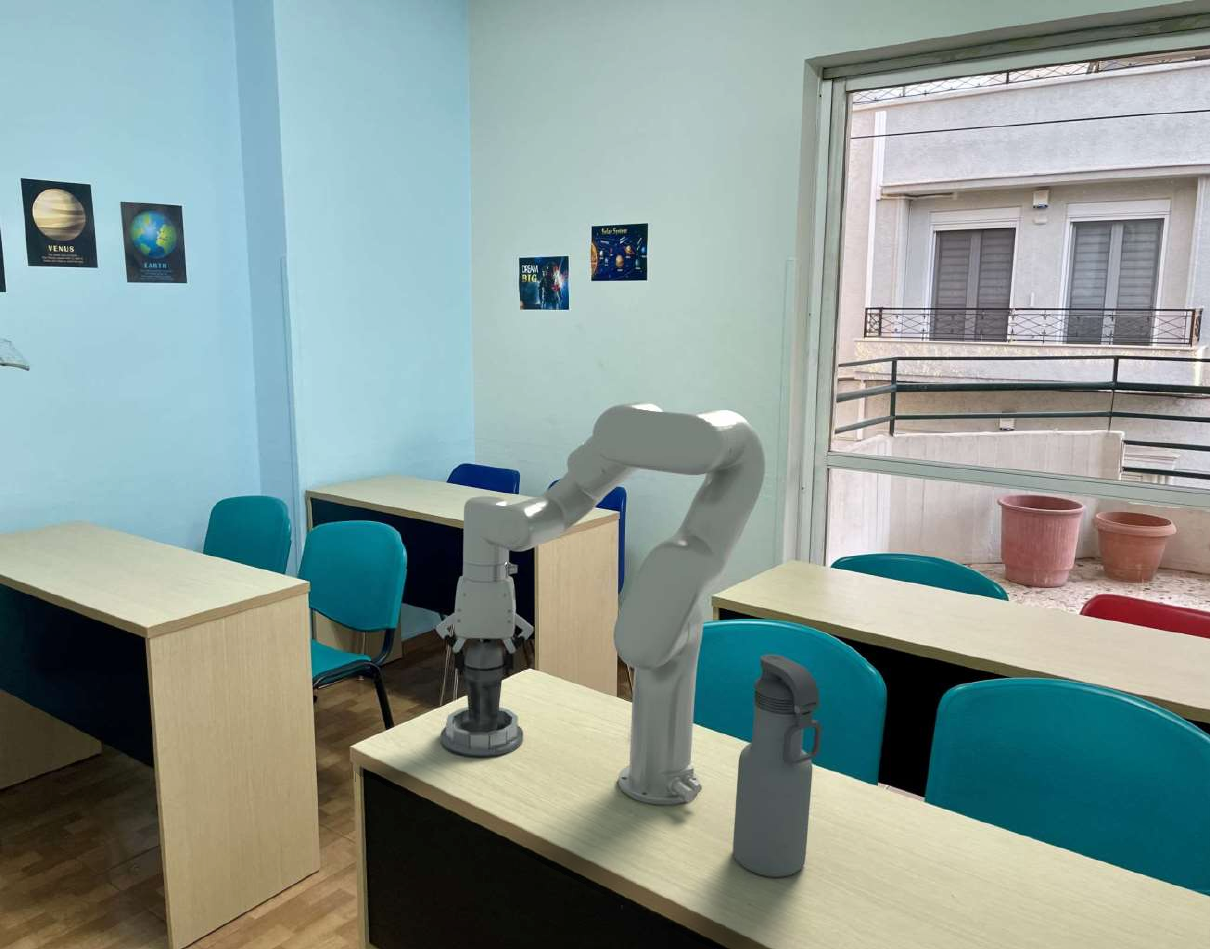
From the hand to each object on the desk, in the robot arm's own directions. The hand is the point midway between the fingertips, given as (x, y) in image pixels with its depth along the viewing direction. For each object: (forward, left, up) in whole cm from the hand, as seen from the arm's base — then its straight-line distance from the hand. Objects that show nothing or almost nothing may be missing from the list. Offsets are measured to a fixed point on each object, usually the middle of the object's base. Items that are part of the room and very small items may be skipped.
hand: (484, 671), depth 158 cm
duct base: (0, 0, -12) cm, 12 cm away
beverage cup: (0, 0, -10) cm, 10 cm away
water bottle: (-52, -18, -12) cm, 56 cm away
